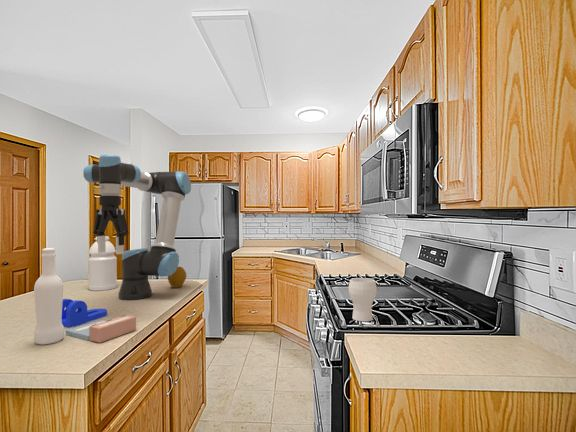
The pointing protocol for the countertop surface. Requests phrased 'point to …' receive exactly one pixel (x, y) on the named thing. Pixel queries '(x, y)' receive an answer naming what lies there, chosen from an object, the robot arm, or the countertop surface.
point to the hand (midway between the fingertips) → (110, 253)
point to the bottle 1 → (48, 302)
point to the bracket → (79, 313)
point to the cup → (362, 297)
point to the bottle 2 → (102, 267)
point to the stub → (112, 328)
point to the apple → (177, 278)
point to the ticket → (82, 330)
